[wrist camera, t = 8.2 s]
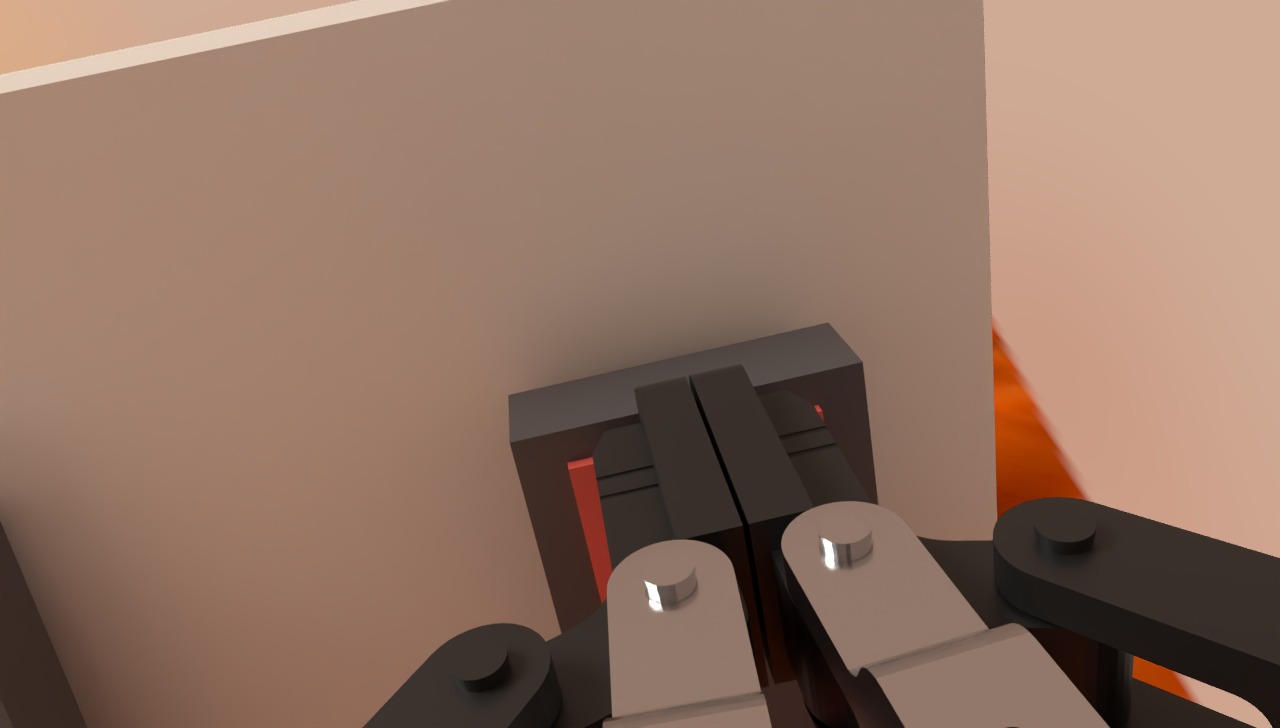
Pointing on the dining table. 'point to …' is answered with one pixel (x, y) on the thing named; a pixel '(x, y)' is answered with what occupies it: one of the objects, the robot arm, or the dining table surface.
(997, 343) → the dining table surface
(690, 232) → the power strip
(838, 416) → the rocker outlet
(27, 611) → the rocker outlet
